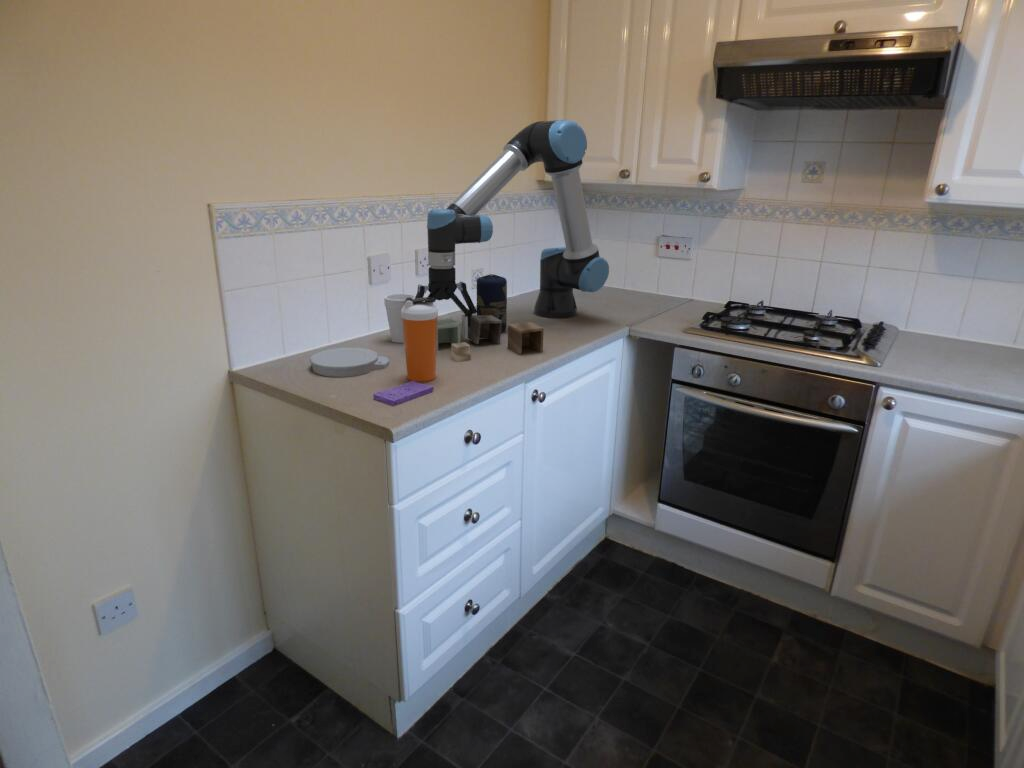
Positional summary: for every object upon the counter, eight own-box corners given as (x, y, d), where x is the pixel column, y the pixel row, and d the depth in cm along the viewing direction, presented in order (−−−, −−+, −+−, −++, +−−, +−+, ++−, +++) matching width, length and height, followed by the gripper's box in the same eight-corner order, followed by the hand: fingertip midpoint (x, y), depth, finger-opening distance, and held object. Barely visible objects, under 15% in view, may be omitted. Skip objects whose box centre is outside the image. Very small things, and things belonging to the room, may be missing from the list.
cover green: (450, 341, 193) (450, 318, 191) (460, 347, 187) (460, 324, 184) (427, 344, 190) (426, 320, 188) (435, 350, 184) (435, 326, 181)
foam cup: (408, 345, 188) (406, 301, 184) (380, 342, 191) (378, 298, 187) (423, 337, 196) (422, 295, 192) (396, 334, 199) (395, 292, 195)
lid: (392, 375, 164) (391, 363, 163) (310, 380, 159) (309, 369, 158) (386, 355, 180) (386, 345, 179) (311, 360, 175) (310, 349, 174)
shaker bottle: (442, 381, 159) (440, 301, 152) (406, 384, 157) (402, 303, 150) (436, 370, 167) (434, 294, 160) (401, 373, 165) (398, 295, 158)
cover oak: (489, 337, 197) (491, 315, 195) (499, 344, 191) (502, 321, 189) (466, 337, 194) (468, 314, 192) (476, 344, 188) (479, 320, 186)
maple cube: (465, 356, 180) (464, 342, 178) (470, 360, 176) (470, 345, 175) (451, 357, 178) (451, 343, 177) (456, 361, 175) (456, 347, 173)
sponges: (373, 401, 147) (372, 393, 147) (413, 386, 157) (413, 379, 156) (394, 408, 143) (393, 400, 143) (434, 393, 153) (434, 385, 152)
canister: (502, 335, 200) (503, 277, 194) (473, 333, 202) (473, 276, 196) (509, 328, 209) (510, 272, 203) (480, 326, 211) (480, 271, 204)
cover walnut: (530, 345, 191) (531, 322, 188) (542, 351, 184) (543, 328, 182) (507, 347, 187) (507, 324, 185) (519, 354, 181) (519, 330, 179)
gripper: (402, 271, 172) (405, 347, 179) (488, 266, 183) (487, 338, 190) (394, 267, 178) (397, 341, 185) (477, 262, 189) (477, 332, 196)
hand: (443, 340), depth 188 cm, fingers open, 13 cm apart
